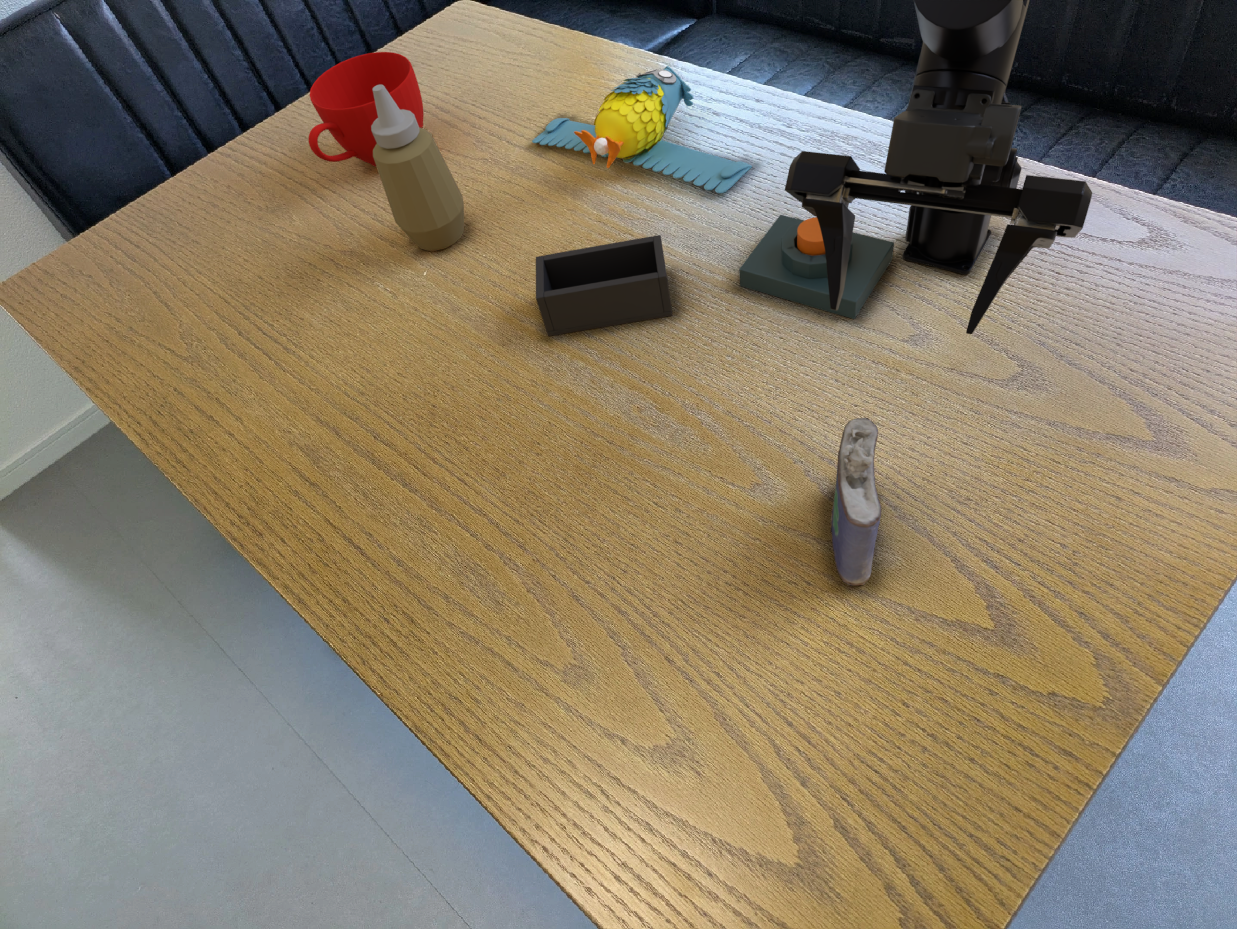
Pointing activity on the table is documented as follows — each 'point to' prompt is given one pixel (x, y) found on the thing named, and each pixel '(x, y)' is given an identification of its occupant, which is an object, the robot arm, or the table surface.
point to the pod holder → (602, 285)
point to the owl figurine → (644, 132)
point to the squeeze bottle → (415, 177)
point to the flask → (855, 503)
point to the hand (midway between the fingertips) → (899, 321)
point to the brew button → (810, 238)
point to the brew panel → (813, 269)
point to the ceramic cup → (361, 101)
